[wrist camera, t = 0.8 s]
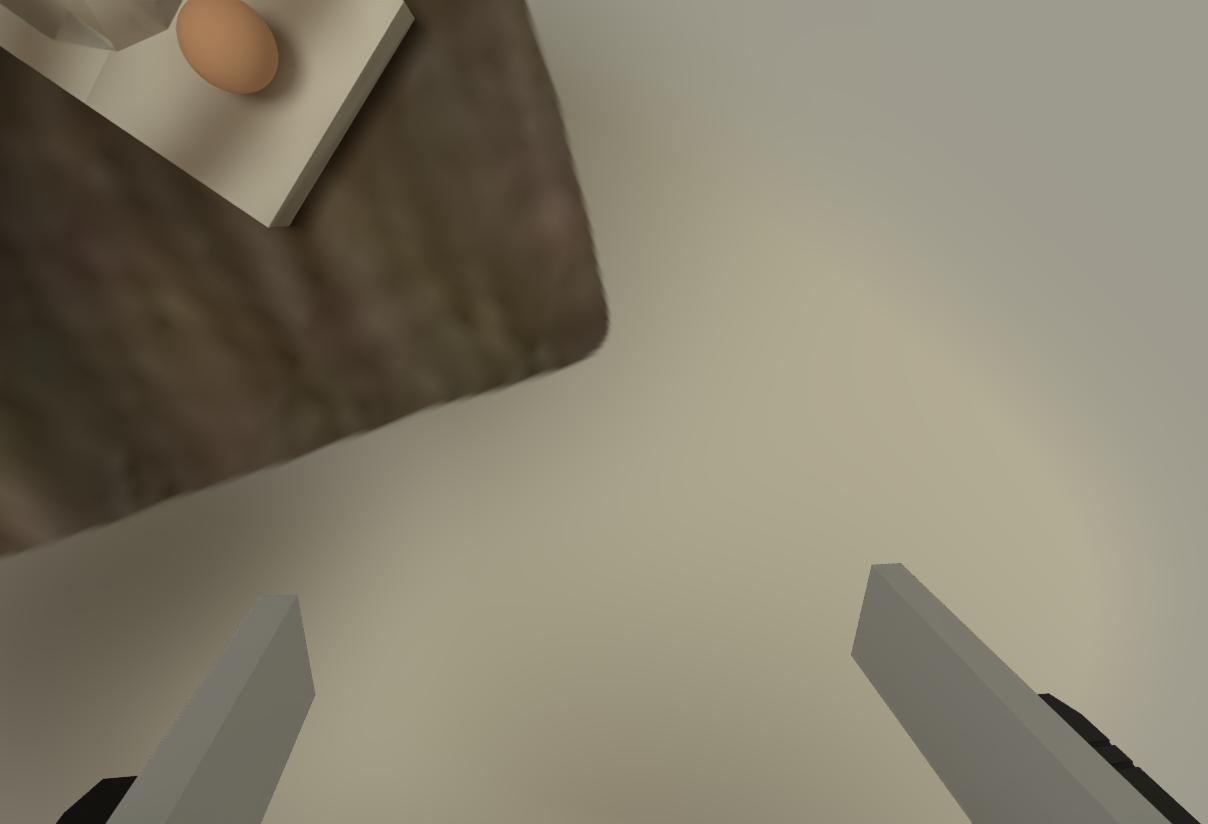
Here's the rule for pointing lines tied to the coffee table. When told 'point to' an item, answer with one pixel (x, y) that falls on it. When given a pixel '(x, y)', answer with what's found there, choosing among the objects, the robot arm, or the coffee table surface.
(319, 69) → the block
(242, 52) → the ball
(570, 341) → the coffee table surface
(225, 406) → the coffee table surface
